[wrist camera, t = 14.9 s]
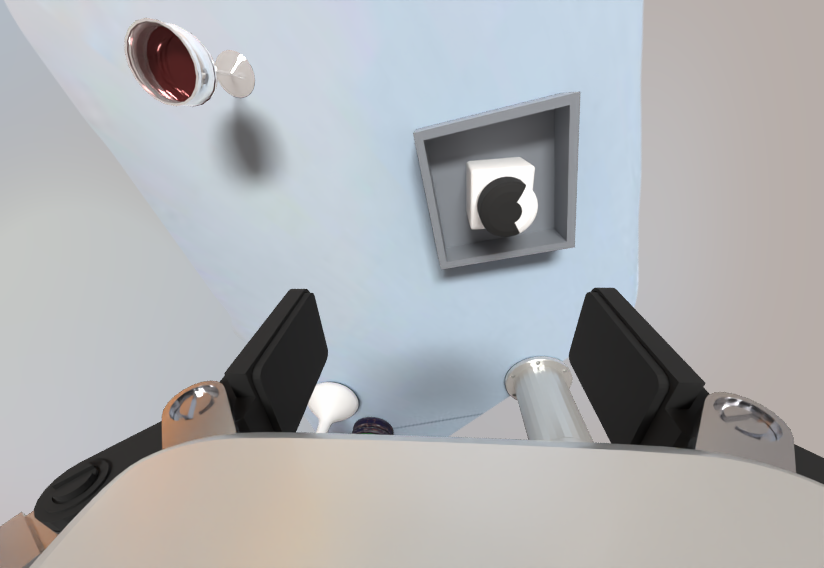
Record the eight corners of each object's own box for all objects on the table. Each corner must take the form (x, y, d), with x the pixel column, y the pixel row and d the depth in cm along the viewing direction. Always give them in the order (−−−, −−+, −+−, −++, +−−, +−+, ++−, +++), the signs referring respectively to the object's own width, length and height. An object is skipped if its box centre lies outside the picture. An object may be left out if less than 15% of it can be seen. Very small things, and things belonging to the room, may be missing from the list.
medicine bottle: (466, 212, 45) (474, 246, 34) (466, 160, 41) (475, 180, 31) (516, 209, 44) (541, 242, 34) (521, 156, 40) (549, 174, 30)
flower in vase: (363, 412, 71) (331, 546, 49) (315, 411, 72) (264, 542, 51) (354, 371, 64) (313, 506, 43) (302, 371, 65) (236, 502, 44)
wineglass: (269, 66, 38) (208, 53, 28) (251, 117, 41) (189, 122, 31) (216, 26, 36) (130, -4, 26) (201, 82, 40) (118, 75, 29)
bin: (559, 231, 46) (574, 247, 41) (440, 252, 49) (440, 269, 44) (560, 93, 37) (580, 91, 32) (416, 129, 41) (413, 133, 35)
